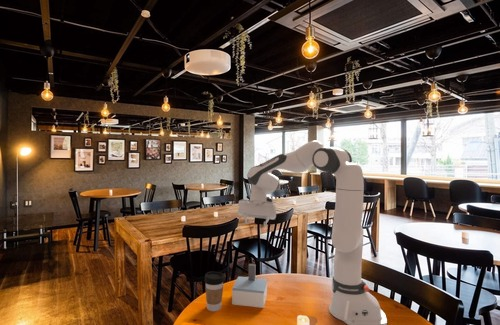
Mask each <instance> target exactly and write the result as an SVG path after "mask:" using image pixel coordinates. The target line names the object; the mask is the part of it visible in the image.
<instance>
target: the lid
mask: <svg viewBox="0 0 500 325" xmlns="http://www.w3.org/2000/svg"><path fill="white" fill-rule="evenodd" d="M256 266H257V265H256V263H249V264H248V272H247V273H248V276H239V275H238V277H237V278H236V280H235V282H234V284H233V286H232V288H231V289H232V290H235V291H245V292H254V293H264V291H265V287H266V283H267V284H268V279H267V278H259V277H258V278H256ZM232 290H231V291H232Z"/></svg>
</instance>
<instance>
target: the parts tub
mask: <svg viewBox="0 0 500 325" xmlns="http://www.w3.org/2000/svg"><path fill="white" fill-rule="evenodd" d="M231 293H232V294H231V296H232V297H231V304H232V305H237V306H245V307H254V308H263V309H264V308H265V304H266V299H267V297H268V296H267V295H268V282H267V283H266V287H265V291H264V293H254V292H245V291H235V290H231Z"/></svg>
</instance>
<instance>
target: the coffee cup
mask: <svg viewBox="0 0 500 325" xmlns="http://www.w3.org/2000/svg"><path fill="white" fill-rule="evenodd" d="M224 282H225V276H224V274H223V273H222V272H220V271H208V272H206V273H205V276H204V284H205V297H206V309H207V310H208V311H210V312H218V311H219V310H221V308H222V302H223V301H222V300H223V294H224V293H223V292H224Z"/></svg>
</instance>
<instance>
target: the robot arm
mask: <svg viewBox="0 0 500 325" xmlns="http://www.w3.org/2000/svg"><path fill="white" fill-rule="evenodd" d="M352 161H353V158H352V154H351V153H350V152H349V151H348V150H346V149H344V148H340V147H336V146H324V144H323V143H322V142H320V141H319V140H311V141H308V142H307V143H304V144H303V145H301V146H299V147H298V148H297V149H295V150H293V151H291V152H286V153H280V154H278V155H275V156H274V157H271V158H270V159H268V160H266V161H264V162H262V163H260V164H258V165H255V166H253V167H251V168H250V169H249V170H248V171H247V172H248V173H247V175H246V176H247V180H248V183H249V184H251V187H250V196H249V199H243V198H242V199H240V200H238V209H237V216H240V217H243V219H244V221H245V222H244V223H245V224H247V225H248V224H249V220H250V219H248V218H256V219H264V220H265V221H263V226H264V227H267V223H268V222H269V220H276V218H277V209H276V208H277V207H276V205H275V199H273V198H270V197H268V196H267V195H270V194H272V193H274V192H275V193H276V192H277V190H279V187H280V179H279V177H278V176H276V175H274V174H273V173H271V172H273V171H275V170H285V171H289V172H293V173H297V174H300V173H304V172H306V171H308V170H309V169H311V168H312V167H315V168H316V169H317V170H318V171H321V172H323V173H326V174H329V175H334V176H335V180H336V181H335V182H336V183H335V184H336V185H335V202H334V203H335V205H334V206H335V207H334V213H333V214H334V215H333V218H332V220H333V221H332V228H331V236H330V237H331V238H330V239H331V244H332V246H333V247H334V249H335V250H334V258H333V276H332V279H331V283H332V284H331V290H332V297H331V300H330V301H331V302H330V304H329V307H328V311H329V313H330V314H331V315H332V316H333V317H335V318H336V319H338V320H340V321H342V322H343V323H345V324H347V325H388V319H387V316H386V313H385V312H384V311H383V310H382V309H381V306H380V303H379V301H378V300H377V298H376V297H375V296H374V295H372V294H371V293H370V292H369V291H370V289H371V288H370V287H369V286H368V284H367V283H366V282H365V281H364V280H363V279H362V262H363V260H362V259H363V249H364V248H363V245H364V228H363V225H362V220H363V212H364V211H363V210H364V192H365V191H364V190H365V189H364V187H365V186H364V185H365V184H364V174H363V169H362V166H361V165H359V164H357V163H355V162H352Z"/></svg>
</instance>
